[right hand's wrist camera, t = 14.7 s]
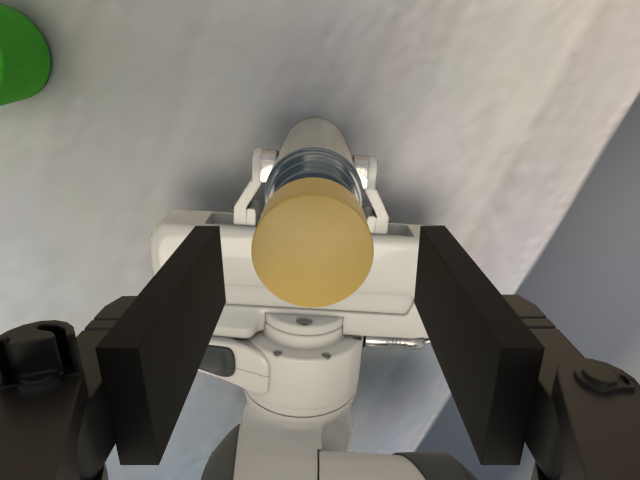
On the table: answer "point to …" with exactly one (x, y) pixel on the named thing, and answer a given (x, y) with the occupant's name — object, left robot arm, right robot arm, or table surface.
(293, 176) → the bottle
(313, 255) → the cap
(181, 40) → the table surface
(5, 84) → the potted flower
